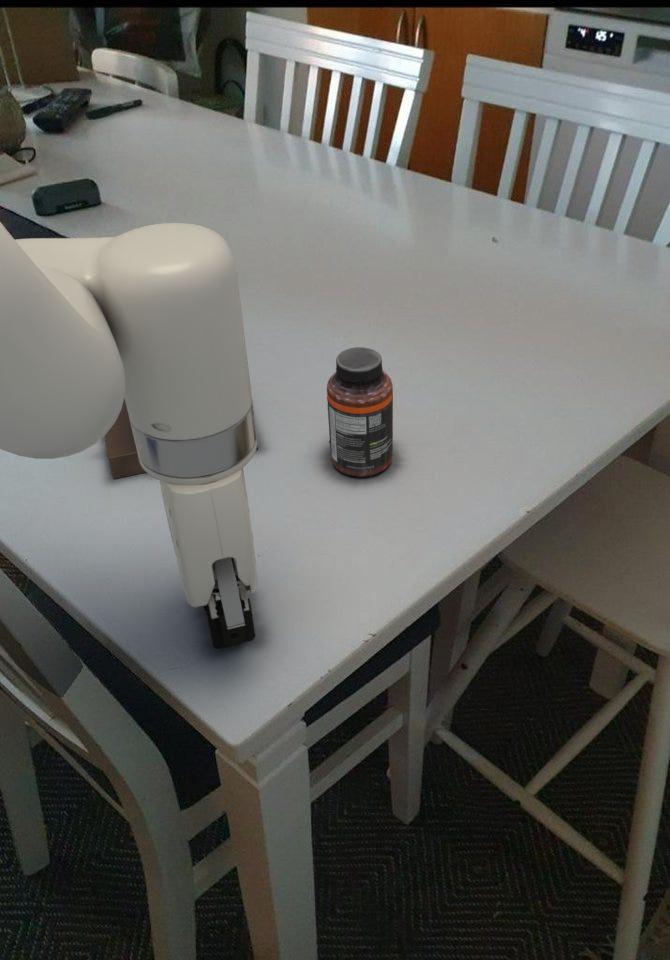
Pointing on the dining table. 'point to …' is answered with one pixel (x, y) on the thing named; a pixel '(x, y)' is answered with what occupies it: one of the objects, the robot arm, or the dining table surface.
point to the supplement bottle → (360, 413)
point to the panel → (123, 447)
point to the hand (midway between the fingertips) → (229, 622)
